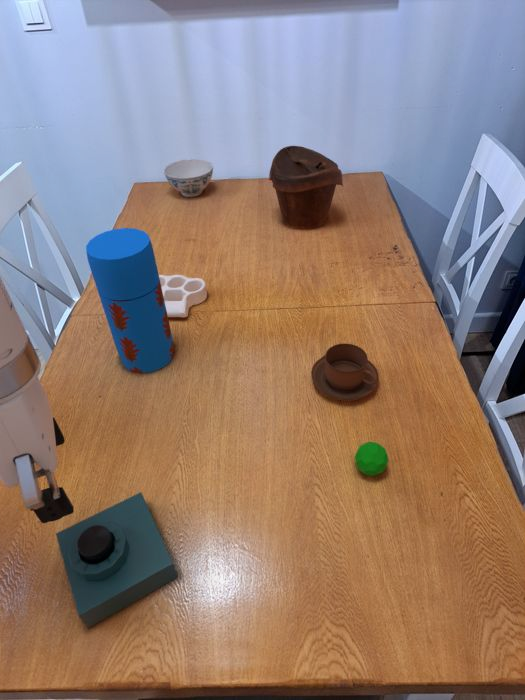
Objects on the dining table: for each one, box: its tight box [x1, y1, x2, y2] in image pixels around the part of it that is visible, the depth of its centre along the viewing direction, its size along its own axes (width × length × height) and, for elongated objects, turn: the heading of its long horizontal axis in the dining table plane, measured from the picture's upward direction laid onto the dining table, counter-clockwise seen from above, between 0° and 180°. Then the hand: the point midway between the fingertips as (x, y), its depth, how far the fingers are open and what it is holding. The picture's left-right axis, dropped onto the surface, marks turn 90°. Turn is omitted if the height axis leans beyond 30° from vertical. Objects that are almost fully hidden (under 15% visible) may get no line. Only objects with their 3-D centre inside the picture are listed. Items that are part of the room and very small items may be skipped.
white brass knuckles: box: [159, 274, 208, 318], centre depth 110 cm, size 3×18×15 cm
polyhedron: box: [354, 441, 390, 477], centre depth 74 cm, size 5×5×5 cm
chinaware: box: [163, 158, 214, 198], centre depth 152 cm, size 15×15×8 cm
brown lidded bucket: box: [268, 145, 344, 230], centre depth 132 cm, size 18×20×18 cm
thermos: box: [85, 227, 175, 374], centre depth 89 cm, size 11×11×25 cm
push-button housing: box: [55, 491, 179, 629], centre depth 64 cm, size 12×12×6 cm
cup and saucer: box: [310, 343, 380, 402], centre depth 87 cm, size 12×12×6 cm
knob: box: [77, 525, 114, 563], centre depth 61 cm, size 4×4×2 cm
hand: (54, 478), depth 53 cm, fingers open, 9 cm apart
